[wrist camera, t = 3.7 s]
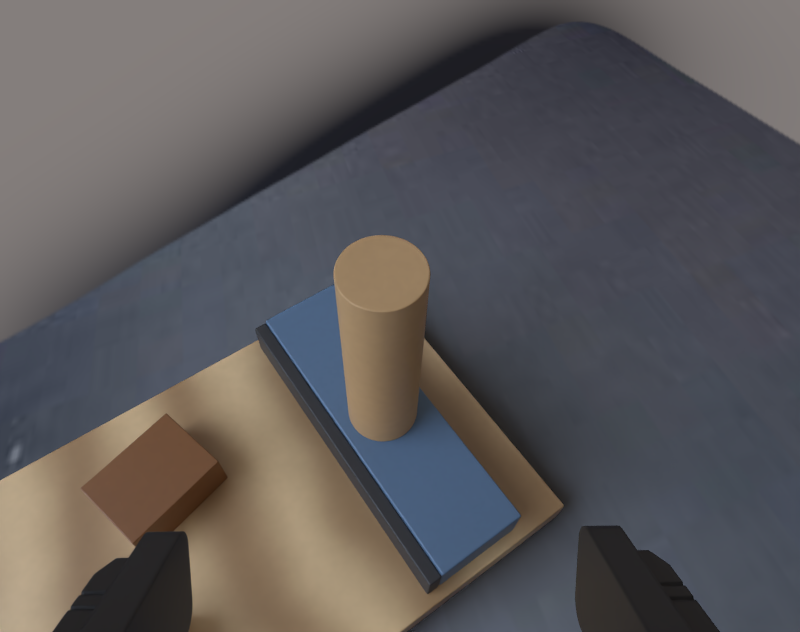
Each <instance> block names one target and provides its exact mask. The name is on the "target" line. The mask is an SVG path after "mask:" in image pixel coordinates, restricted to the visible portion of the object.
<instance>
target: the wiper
mask: <svg viewBox="0 0 800 632" xmlns="http://www.w3.org/2000/svg"><path fill="white" fill-rule="evenodd" d="M429 283H430V268H429V264H428V262H427V259H426V258H425V256H424V255H423V253H422V252H421V251H420V250H419V249H418V248H417V247H416V246H414V245H413V244H412V243H410V242H408V241H406V240H404V239H401V238H398V237H394V236H387V235H376V236H370V237H366V238H363V239H360V240H358V241H356V242H354V243H352V244H351V245H349V246H348V247H347V248H346V249H345V250H344V251H343V252H342V253H341V254H340V256H339V257H338V259H337V261H336V264H335V267H334V284H333V285H331V286H330V287H328V288H326V289H324V290H322V291H320V292H318V293H317V294H315V295H313V296H311V297H309V298H307V299H305V300H303V301H302V302H300V303H298V304H296V305H294V306H292V307H290V308H289V309H287V310H285V311H283V312H281V313H279V314H277V315H275V316H274V317H272V318H270V319H268V320H267V321H266V324H263V325H261V326H260V327H258V328H256V329H255V331H256V334H257V337H258V340H259V344H260V347H261V349H262V350H263V352H264V353H265V355H266V356H267V358H268V359H269V361H270V362H271V364H272V365H273V367H274V368H275V370H276V371H277V373H278V374H279V376H280V377H281V379H282V380H283V382H284V383H285V385H286V386H287V387H288V389H289V390H290V392H291V393H292V395H293V396H294V398H295V399H296V401H297V402H298V404H299V405H300V407H301V408H302V410H303V411H304V413H305V414H306V416H307V417H308V419H309V420H310V422H311V423H312V425H313V426H314V428H315V429H316V430H317V432H318V433H319V435H320V436H321V438H322V439H323V441H324V442H325V444H326V445H327V447H328V448H329V450H330V451H331V453H332V454H333V456H334V457H335V459H336V460H337V462H338V463H339V465H340V466H341V468H342V469H343V471H344V472H345V473H346V475H347V476H348V478H349V479H350V481H351V482H352V484H353V485H354V487H355V488H356V490H357V491H358V493H359V494H360V496H361V497H362V499H363V500H364V502H365V503H366V505H367V506H368V508H369V509H370V511H371V512H372V513H373V515H374V516H375V518H376V519H377V521H378V522H379V524H380V525H381V527H382V528H383V530H384V531H385V533H386V534H387V536H388V537H389V539H390V540H391V542H392V543H393V545H394V546H395V548H396V549H397V551H398V552H399V554H400V555H401V556H402V558H403V559H404V561H405V562H406V564H407V565H408V567H409V568H410V570H411V571H412V573H413V574H414V576H415V577H416V579H417V580H418V582H419V583H420V585H421V586H422V588H423V589H424V591H425V592H426V593H427V594H429V593H430V592H432V591H433V590H434V589H436V588H437V587H438V586H439V585H441V584H442V583H444V582H445V581H446V580H448V579H449V578H450V577H451V576H453V575H454V574H455V573H457V572H458V571H459V570H461V569H462V568H463V567H465V566H466V565H467V564H469V563H470V562H471V561H473V560H474V559H475V558H476V557H478V556H479V555H480V554H482V553H483V552H484V551H486V550H487V549H488V548H490V547H491V546H492V545H494V544H495V543H496V542H498V541H499V540H500V539H501V538H503V537H504V536H505V535H507V534H508V533H509V532H511V531H512V530H513V529H514V527H515V525H516V524H517V522H518V520H519V519H520V517H521V514H520V513H519V512H518V510H517V509H516V508H515V507H514V505H513V504H512V503H511V502H510V500H509V499H508V498H507V497H506V495H505V494H504V493H503V492H502V490H501V489H500V488H499V487H498V485H497V484H496V483H495V482H494V480H493V479H492V478H491V476H490V475H489V474H488V473H487V471H486V470H485V469H484V468H483V466H482V465H481V464H480V463H479V461H478V460H477V459H476V458H475V456H474V455H473V454H472V453H471V451H470V450H469V449H468V448H467V446H466V445H465V444H464V443H463V441H462V440H461V439H460V437H459V436H458V435H457V434H456V432H455V431H454V430H453V429H452V427H451V426H450V425H449V424H448V422H447V421H446V420H445V419H444V417H443V416H442V415H441V414H440V412H439V411H438V410H437V409H436V407H435V406H434V405H433V403H432V402H431V401H430V400H429V398H428V397H427V396H426V395H425V393H424V392H423V391H422V390H421V388H420V387H419V386H420V376H421V366H422V355H423V345H424V335H425V324H426V314H427V304H428V293H429Z"/></svg>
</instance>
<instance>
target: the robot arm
mask: <svg viewBox="0 0 800 632" xmlns="http://www.w3.org/2000/svg"><path fill="white" fill-rule="evenodd" d="M575 602H576V611H577V617H578V621H579V625H580V628H581V630H582V632H720V631H719V630H718V629H717V627H716V626H715V625H714V623H713V622H712V621H711V619H710V618H709V617H708V615H707V614H706V613H705V611H704V610H703V609H702V607H701V606H700V605H699V603H698V602H697V601H696V600H694V599H693V595H692V594H691V593H690V591H689V590H688V589H687V587H686V586H683V582H682V581H681V579H680V578H679V577H678V575H677V574H676V573H675V571H674V570H673V569H672V567H671V566H670V565H669V564H668V563H666V562H665V561H663V560H662V559H660V558H659V557H658V556H656V555H655V554H653V553H652V552H650V551H649V550H637V549H636V548H635V546H634V545H633V544H632V542H631V541H630V539H629V538H628V536H627V535H626V533H625V532H624V531H623V529H622V528H621V527H620V526H582V527H581V529H580V533H579V542H578V558H577V574H576V591H575ZM192 607H193V600H192V586H191V572H190V558H189V545H188V538H187V535H186V533H185V532H184V531H170V532H146V533H145V534H144V535H143V537H142V538H141V540H140V541H139V543H138V544H137V546H136V547H135V549H134V550H133V552H132V553H131V555H130V556H129V558H116V559H114V560H113V561H111V562H110V563H109V564H107V565H106V566H104V567H103V568H102V569H100V570H99V571H97V572H96V573H95V574H94V575H93V576H92V578H91V579H90V581H89V582H88V583H87V585H86V586H85V587H84V589H83V590H82V592H81V595H79V596H78V597H77V598H76V600H75V601H74V603H73V604H72V605H71V609H70V610H68V611H67V612H66V614H65V615H64V616H63V618H62V619H61V620H60V622H59V623H58V625H57V626H56V627H55V629H54V630H53V632H189V628H190V624H191V618H192Z"/></svg>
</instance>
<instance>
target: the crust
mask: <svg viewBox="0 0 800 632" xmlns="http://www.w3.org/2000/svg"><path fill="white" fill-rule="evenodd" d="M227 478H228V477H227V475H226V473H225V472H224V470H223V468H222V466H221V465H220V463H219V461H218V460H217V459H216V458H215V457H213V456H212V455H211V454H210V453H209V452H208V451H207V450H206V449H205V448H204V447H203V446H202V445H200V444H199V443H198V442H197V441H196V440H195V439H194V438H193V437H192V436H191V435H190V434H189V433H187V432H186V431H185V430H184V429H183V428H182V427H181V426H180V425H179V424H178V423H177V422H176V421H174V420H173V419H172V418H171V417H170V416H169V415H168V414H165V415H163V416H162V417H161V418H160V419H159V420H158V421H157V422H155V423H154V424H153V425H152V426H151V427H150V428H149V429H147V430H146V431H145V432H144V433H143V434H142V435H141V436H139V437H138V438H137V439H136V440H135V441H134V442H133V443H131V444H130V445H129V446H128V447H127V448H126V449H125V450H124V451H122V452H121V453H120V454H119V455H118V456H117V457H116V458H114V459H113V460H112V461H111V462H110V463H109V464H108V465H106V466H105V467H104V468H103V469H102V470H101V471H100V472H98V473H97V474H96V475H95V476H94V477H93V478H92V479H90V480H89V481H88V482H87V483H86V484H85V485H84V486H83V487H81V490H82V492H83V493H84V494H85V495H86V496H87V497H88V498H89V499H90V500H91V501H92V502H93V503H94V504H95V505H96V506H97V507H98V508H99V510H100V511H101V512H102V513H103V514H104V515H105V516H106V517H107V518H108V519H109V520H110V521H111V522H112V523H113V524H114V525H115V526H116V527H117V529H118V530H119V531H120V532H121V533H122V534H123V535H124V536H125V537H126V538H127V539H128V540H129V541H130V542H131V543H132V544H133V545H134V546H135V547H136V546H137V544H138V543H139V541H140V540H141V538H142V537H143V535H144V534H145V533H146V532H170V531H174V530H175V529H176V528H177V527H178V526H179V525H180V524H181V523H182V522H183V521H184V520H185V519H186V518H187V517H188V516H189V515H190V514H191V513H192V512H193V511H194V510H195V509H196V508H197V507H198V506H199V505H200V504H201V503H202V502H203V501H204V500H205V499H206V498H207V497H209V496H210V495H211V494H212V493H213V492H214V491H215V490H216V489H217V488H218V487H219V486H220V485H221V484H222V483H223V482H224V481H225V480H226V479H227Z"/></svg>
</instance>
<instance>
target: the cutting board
mask: <svg viewBox="0 0 800 632" xmlns="http://www.w3.org/2000/svg"><path fill="white" fill-rule="evenodd" d="M419 387H420V388H421V390H422V391H423V392H424V393H425V395H426V396H427V397H428V398H429V400H430V401H431V402H432V403H433V405H434V406H435V407H436V409H437V410H438V411H439V412H440V414H441V415H442V416H443V417H444V419H445V420H446V421H447V422H448V424H449V425H450V426H451V427H452V429H453V430H454V431H455V432H456V434H457V435H458V436H459V437H460V439H461V440H462V441H463V443H464V444H465V445H466V446H467V448H468V449H469V450H470V451H471V453H472V454H473V455H474V456H475V458H476V459H477V460H478V461H479V463H480V464H481V465H482V466H483V468H484V469H485V470H486V471H487V473H488V474H489V475H490V476H491V478H492V479H493V480H494V482H495V483H496V484H497V485H498V487H499V488H500V489H501V490H502V492H503V493H504V494H505V495H506V497H507V498H508V499H509V500H510V502H511V503H512V504H513V505H514V507H515V508H516V509H517V510H518V512H519V513H520V514H521V517H520V519H519V520H518V522H517V524H516V525H515V527H514V529H513V530H512V531H511V532H509V533H508V534H507V535H505V536H504V537H503V538H501V539H500V540H499V541H498V542H496V543H495V544H494V545H492V546H491V547H490V548H488V549H487V550H486V551H484V552H483V553H482V554H480V555H479V556H478V557H476V558H475V559H474V560H473V561H471V562H470V563H469V564H467V565H466V566H465V567H463V568H462V569H461V570H459V571H458V572H457V573H455V574H454V575H453V576H451V577H450V578H449V579H448V580H446V581H445V582H444V583H442V584H441V585H439V586H438V587H437V588H436V589H434V590H433V591H432V592H430V593H429V594H427V593H426V592H425V591H424V589H423V588H422V586H421V585H420V583H419V582H418V580H417V579H416V577H415V576H414V574H413V573H412V571H411V570H410V568H409V567H408V565H407V564H406V562H405V561H404V559H403V558H402V556H401V555H400V554H399V552H398V551H397V549H396V548H395V546H394V545H393V543H392V542H391V540H390V539H389V537H388V536H387V534H386V533H385V531H384V530H383V528H382V527H381V525H380V524H379V522H378V521H377V519H376V518H375V516H374V515H373V513H372V512H371V511H370V509H369V508H368V506H367V505H366V503H365V502H364V500H363V499H362V497H361V496H360V494H359V493H358V491H357V490H356V488H355V487H354V485H353V484H352V482H351V481H350V479H349V478H348V476H347V475H346V473H345V472H344V471H343V469H342V468H341V466H340V465H339V463H338V462H337V460H336V459H335V457H334V456H333V454H332V453H331V451H330V450H329V448H328V447H327V445H326V444H325V442H324V441H323V439H322V438H321V436H320V435H319V433H318V432H317V430H316V429H315V428H314V426H313V425H312V423H311V422H310V420H309V419H308V417H307V416H306V414H305V413H304V411H303V410H302V408H301V407H300V405H299V404H298V402H297V401H296V399H295V398H294V396H293V395H292V393H291V392H290V390H289V389H288V387H287V386H286V385H285V383H284V382H283V380H282V379H281V377H280V376H279V374H278V373H277V371H276V370H275V368H274V367H273V365H272V364H271V362H270V361H269V359H268V358H267V356H266V355H265V353H264V352H263V350H262V349H261V347H260V344H259V340H257V341H256V342H254V343H252V344H250V345H248V346H246V347H245V348H243V349H241V350H239V351H237V352H235V353H234V354H232V355H230V356H228V357H226V358H224V359H223V360H221V361H219V362H217V363H215V364H213V365H212V366H210V367H208V368H206V369H204V370H202V371H200V372H199V373H197V374H195V375H193V376H191V377H189V378H188V379H186V380H184V381H182V382H180V383H178V384H177V385H175V386H173V387H171V388H169V389H167V390H166V391H164V392H162V393H160V394H158V395H156V396H155V397H153V398H151V399H149V400H147V401H145V402H144V403H142V404H140V405H138V406H136V407H134V408H132V409H131V410H129V411H127V412H125V413H123V414H121V415H120V416H118V417H116V418H114V419H112V420H110V421H109V422H107V423H105V424H103V425H101V426H99V427H98V428H96V429H94V430H92V431H90V432H88V433H87V434H85V435H83V436H81V437H79V438H77V439H76V440H74V441H72V442H70V443H68V444H66V445H64V446H63V447H61V448H59V449H57V450H55V451H53V452H52V453H50V454H48V455H46V456H44V457H42V458H41V459H39V460H37V461H35V462H33V463H31V464H30V465H28V466H26V467H24V468H22V469H20V470H19V471H17V472H15V473H13V474H11V475H9V476H8V477H6V478H4V479H2V480H0V632H53V630H54V629H55V627H56V626H57V625H58V623H59V622H60V620H61V619H62V618H63V616H64V615H65V614H66V612H67V611H68V610H70V609H71V605H72V604H73V603H74V601H75V600H76V598H77V597H78V596H79V595H81V592H82V590H83V589H84V587H85V586H86V585H87V583H88V582H89V581H90V579H91V578H92V576H93V575H94V574H95V573H96V572H97V571H99V570H100V569H102V568H103V567H104V566H106V565H107V564H109V563H110V562H111V561H113V560H114V559H116V558H129V556H130V555H131V553H132V552H133V550H134V549H135V546H134V545H133V544H132V543H131V542H130V541H129V540H128V539H127V538H126V537H125V536H124V535H123V534H122V533H121V532H120V531H119V530H118V529H117V527H116V526H115V525H114V524H113V523H112V522H111V521H110V520H109V519H108V518H107V517H106V516H105V515H104V514H103V513H102V512H101V511H100V510H99V508H98V507H97V506H96V505H95V504H94V503H93V502H92V501H91V500H90V499H89V498H88V497H87V496H86V495H85V494H84V493H83V492H82V490H81V487H83V486H84V485H85V484H86V483H87V482H88V481H89V480H90V479H92V478H93V477H94V476H95V475H96V474H97V473H98V472H100V471H101V470H102V469H103V468H104V467H105V466H106V465H108V464H109V463H110V462H111V461H112V460H113V459H114V458H116V457H117V456H118V455H119V454H120V453H121V452H122V451H124V450H125V449H126V448H127V447H128V446H129V445H130V444H131V443H133V442H134V441H135V440H136V439H137V438H138V437H139V436H141V435H142V434H143V433H144V432H145V431H146V430H147V429H149V428H150V427H151V426H152V425H153V424H154V423H155V422H157V421H158V420H159V419H160V418H161V417H162V416H163V415H165V414H168V415H169V416H170V417H171V418H172V419H173V420H174V421H176V422H177V423H178V424H179V425H180V426H181V427H182V428H183V429H184V430H185V431H186V432H187V433H189V434H190V435H191V436H192V437H193V438H194V439H195V440H196V441H197V442H198V443H199V444H200V445H202V446H203V447H204V448H205V449H206V450H207V451H208V452H209V453H210V454H211V455H212V456H213V457H215V458H216V459H217V460H218V461H219V463H220V465H221V466H222V468H223V470H224V472H225V473H226V475H227V477H228V478H227V479H226V480H225V481H224V482H223V483H222V484H221V485H220V486H219V487H218V488H217V489H216V490H215V491H214V492H213V493H212V494H211V495H210V496H209V497H207V498H206V499H205V500H204V501H203V502H202V503H201V504H200V505H199V506H198V507H197V508H196V509H195V510H194V511H193V512H192V513H191V514H190V515H189V516H188V517H187V518H186V519H185V520H184V521H183V522H182V523H181V524H180V525H179V526H178V527H177V528H176V529H175V530H174V531H184V532H185V533H186V535H187V538H188V545H189V558H190V572H191V586H192V600H193V607H192V618H191V624H190V628H189V632H407V631H409V630H410V629H411V628H413V627H414V626H415V625H417V624H418V623H419V622H420V621H422V620H423V619H424V618H426V617H427V616H428V615H429V614H431V613H432V612H433V611H435V610H436V609H437V608H438V607H440V606H441V605H442V604H444V603H445V602H446V601H448V600H449V599H450V598H451V597H453V596H454V595H455V594H457V593H458V592H459V591H460V590H462V589H463V588H464V587H466V586H467V585H468V584H470V583H471V582H472V581H473V580H475V579H476V578H477V577H479V576H480V575H481V574H482V573H484V572H485V571H486V570H488V569H489V568H490V567H492V566H493V565H494V564H495V563H497V562H498V561H499V560H501V559H502V558H503V557H504V556H506V555H507V554H508V553H510V552H511V551H512V550H514V549H515V548H516V547H517V546H519V545H520V544H521V543H523V542H524V541H525V540H526V539H528V538H529V537H530V536H532V535H533V534H534V533H536V532H537V531H538V530H539V529H541V528H542V527H543V526H545V525H546V524H547V523H548V522H550V521H551V520H552V519H554V518H555V517H556V516H557V515H558V514H559V512H560V511H561V510H562V508H563V507H564V505H563V503H562V502H561V501H560V500H559V499H558V497H557V496H556V495H555V494H554V493H553V491H552V490H551V489H550V488H549V487H548V485H547V484H546V483H545V482H544V481H543V479H542V478H541V477H540V476H539V475H538V473H537V472H536V471H535V470H534V469H533V467H532V466H531V465H530V464H529V463H528V462H527V460H526V459H525V458H524V457H523V456H522V454H521V453H520V452H519V451H518V450H517V448H516V447H515V446H514V445H513V444H512V442H511V441H510V440H509V439H508V438H507V436H506V435H505V434H504V433H503V432H502V430H501V429H500V428H499V427H498V426H497V424H496V423H495V422H494V421H493V420H492V418H491V417H490V416H489V415H488V414H487V412H486V411H485V410H484V409H483V408H482V406H481V405H480V404H479V403H478V402H477V401H476V399H475V398H474V397H473V396H472V395H471V393H470V392H469V391H468V390H467V389H466V387H465V386H464V385H463V384H462V383H461V381H460V380H459V379H458V378H457V377H456V375H455V374H454V373H453V372H452V371H451V369H450V368H449V367H448V366H447V365H446V363H445V362H444V361H443V360H442V359H441V357H440V356H439V355H438V354H437V353H436V351H435V350H434V349H433V348H432V347H431V345H430V344H429V343H428V342H427V341H426V340H425V338H424V345H423V355H422V366H421V376H420V386H419Z"/></svg>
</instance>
